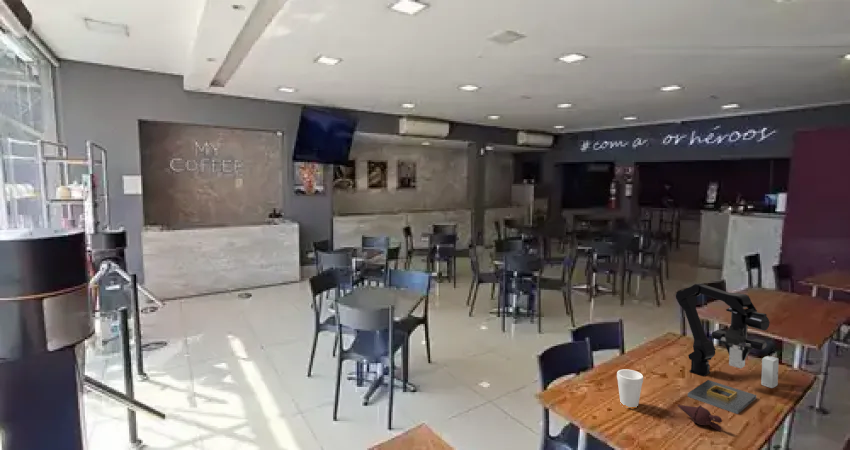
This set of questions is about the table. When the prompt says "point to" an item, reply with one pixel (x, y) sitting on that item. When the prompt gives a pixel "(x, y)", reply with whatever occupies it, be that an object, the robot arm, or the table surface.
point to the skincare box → (769, 371)
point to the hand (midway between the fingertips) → (737, 358)
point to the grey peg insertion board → (722, 396)
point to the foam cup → (629, 387)
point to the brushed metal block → (736, 356)
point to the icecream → (702, 416)
